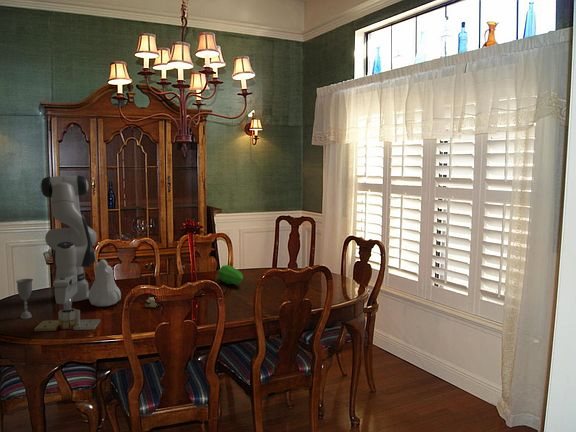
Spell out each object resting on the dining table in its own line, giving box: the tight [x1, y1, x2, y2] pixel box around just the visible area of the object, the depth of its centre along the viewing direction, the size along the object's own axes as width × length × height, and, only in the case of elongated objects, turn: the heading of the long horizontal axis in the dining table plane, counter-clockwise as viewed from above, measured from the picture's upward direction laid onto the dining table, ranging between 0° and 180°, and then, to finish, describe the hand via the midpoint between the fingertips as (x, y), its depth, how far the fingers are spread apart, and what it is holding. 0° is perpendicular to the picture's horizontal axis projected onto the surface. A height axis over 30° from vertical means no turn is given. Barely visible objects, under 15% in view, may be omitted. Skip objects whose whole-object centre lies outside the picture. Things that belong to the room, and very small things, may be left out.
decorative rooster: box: [88, 259, 122, 307], centre depth 262 cm, size 25×16×25 cm, turn 19°
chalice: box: [15, 278, 34, 320], centre depth 238 cm, size 7×7×18 cm
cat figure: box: [144, 296, 159, 308], centre depth 262 cm, size 10×9×25 cm
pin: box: [64, 298, 72, 313], centre depth 226 cm, size 3×3×10 cm
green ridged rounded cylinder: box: [218, 264, 244, 285], centre depth 307 cm, size 11×12×30 cm
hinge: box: [33, 307, 101, 332], centre depth 226 cm, size 11×25×7 cm, turn 97°
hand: (67, 308), depth 226 cm, fingers closed on pin, 3 cm apart
